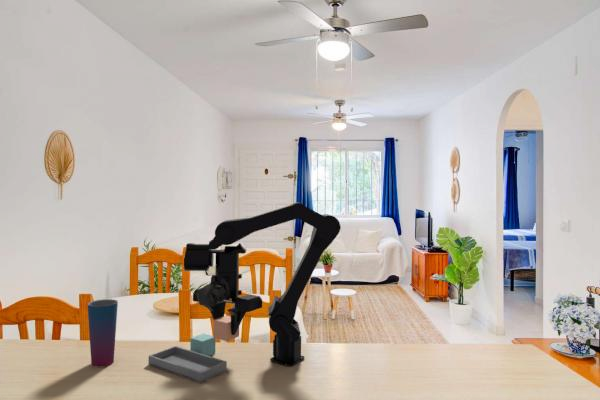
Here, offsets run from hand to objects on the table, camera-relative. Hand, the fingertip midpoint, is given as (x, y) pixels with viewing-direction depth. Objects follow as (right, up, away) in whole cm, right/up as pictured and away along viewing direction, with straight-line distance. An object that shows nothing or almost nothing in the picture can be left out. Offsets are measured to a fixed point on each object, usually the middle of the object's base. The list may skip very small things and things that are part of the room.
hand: (226, 332), depth 110 cm
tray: (-9, -7, -4) cm, 12 cm away
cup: (-30, -7, -2) cm, 31 cm away
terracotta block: (0, -1, 0) cm, 1 cm away
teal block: (-7, -7, +5) cm, 11 cm away
